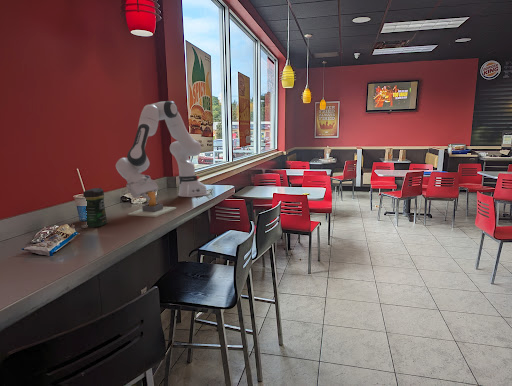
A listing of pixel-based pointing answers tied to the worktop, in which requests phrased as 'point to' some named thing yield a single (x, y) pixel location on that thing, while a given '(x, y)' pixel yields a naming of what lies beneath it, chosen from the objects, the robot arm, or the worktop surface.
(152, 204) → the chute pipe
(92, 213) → the coffee jar
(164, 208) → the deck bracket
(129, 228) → the worktop surface
